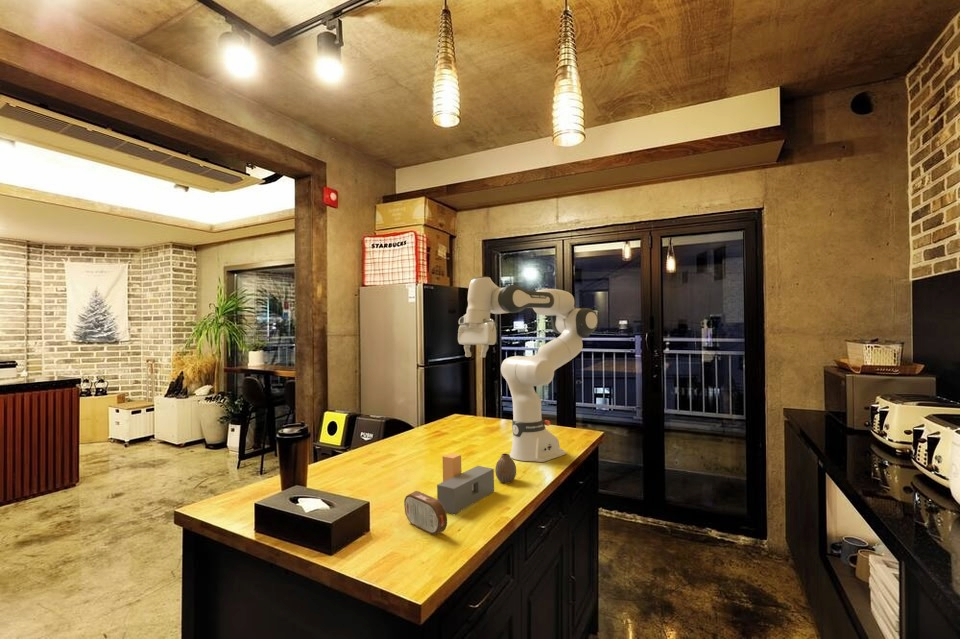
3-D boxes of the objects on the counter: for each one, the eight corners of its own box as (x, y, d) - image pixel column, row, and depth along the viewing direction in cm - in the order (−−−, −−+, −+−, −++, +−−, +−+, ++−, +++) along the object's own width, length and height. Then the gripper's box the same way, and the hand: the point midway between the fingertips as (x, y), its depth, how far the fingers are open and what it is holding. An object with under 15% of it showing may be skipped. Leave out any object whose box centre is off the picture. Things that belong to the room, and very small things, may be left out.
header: (494, 491, 139) (493, 468, 139) (454, 514, 122) (454, 488, 122) (478, 487, 142) (477, 465, 142) (437, 509, 126) (437, 484, 126)
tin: (448, 536, 110) (447, 501, 110) (438, 540, 108) (437, 505, 108) (412, 518, 121) (411, 486, 121) (402, 522, 118) (401, 490, 118)
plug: (475, 498, 133) (474, 457, 133) (467, 502, 130) (466, 460, 130) (451, 492, 138) (450, 453, 138) (443, 496, 135) (442, 456, 135)
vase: (518, 478, 150) (518, 452, 150) (513, 485, 144) (512, 458, 144) (499, 476, 152) (498, 450, 152) (492, 483, 146) (492, 456, 146)
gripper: (501, 319, 158) (499, 358, 157) (469, 321, 175) (467, 357, 174) (487, 317, 155) (484, 357, 153) (456, 319, 172) (453, 355, 170)
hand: (475, 357), depth 164 cm, fingers open, 8 cm apart
